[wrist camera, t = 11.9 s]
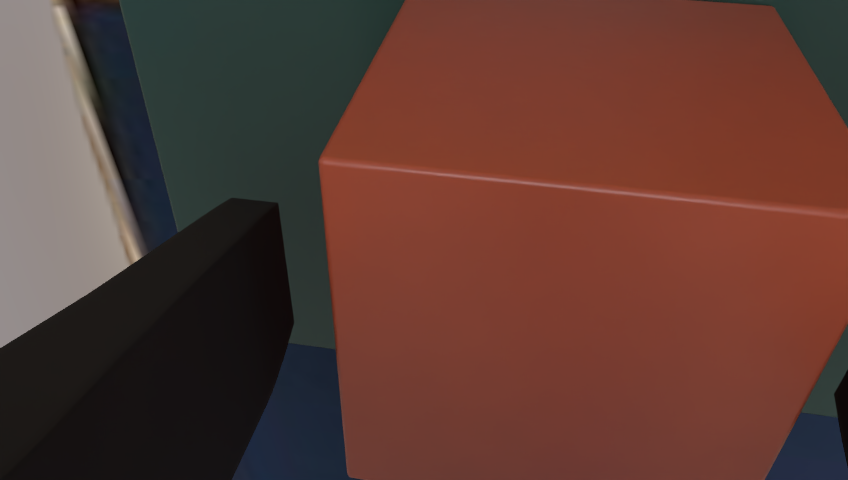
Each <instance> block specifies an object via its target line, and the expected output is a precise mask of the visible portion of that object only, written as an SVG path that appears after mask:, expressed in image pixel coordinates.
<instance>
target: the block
mask: <svg viewBox="0 0 848 480" xmlns="http://www.w3.org/2000/svg"><path fill="white" fill-rule="evenodd" d="M318 164H319V175H320V185H321V196H322V207H323V218H324V228H325V239H326V250H327V261H328V271H329V282H330V293H331V304H332V314H333V325H334V336H335V347H336V357H337V368H338V379H339V389H340V400H341V411H342V422H343V432H344V443H345V454H346V465H347V474H348V476H350V477H351V478H358V479H364V480H765V478H766V476H767V474H768V472H769V470H770V469H771V467H772V465H773V463H774V461H775V459H776V457H777V455H778V454H779V452H780V450H781V448H782V446H783V444H784V442H785V440H786V439H787V437H788V435H789V433H790V431H791V429H792V427H793V426H794V424H795V422H796V420H797V418H798V416H799V414H800V412H801V411H802V409H803V407H804V405H805V403H806V401H807V399H808V397H809V396H810V394H811V392H812V390H813V388H814V386H815V384H816V382H817V381H818V379H819V377H820V375H821V373H822V371H823V369H824V367H825V366H826V364H827V362H828V360H829V358H830V356H831V354H832V352H833V351H834V349H835V347H836V345H837V343H838V341H839V339H840V337H841V336H842V334H843V332H844V330H845V328H846V326H847V324H848V128H847V126H846V124H845V123H844V121H843V119H842V118H841V116H840V114H839V113H838V111H837V109H836V108H835V106H834V105H833V103H832V101H831V100H830V98H829V96H828V95H827V93H826V91H825V90H824V88H823V86H822V85H821V83H820V82H819V80H818V78H817V77H816V75H815V73H814V72H813V70H812V68H811V67H810V65H809V63H808V62H807V60H806V59H805V57H804V55H803V54H802V52H801V50H800V49H799V47H798V45H797V44H796V42H795V40H794V39H793V37H792V36H791V34H790V32H789V31H788V29H787V27H786V26H785V24H784V22H783V21H782V19H781V17H780V16H779V14H778V13H777V11H776V9H775V8H774V7H772V6H766V5H751V4H737V3H722V2H708V1H693V0H405V1H404V3H403V5H402V7H401V9H400V11H399V12H398V14H397V16H396V18H395V20H394V22H393V23H392V25H391V27H390V29H389V31H388V33H387V34H386V36H385V38H384V40H383V42H382V44H381V46H380V47H379V49H378V51H377V53H376V55H375V57H374V58H373V60H372V62H371V64H370V66H369V68H368V69H367V71H366V73H365V75H364V77H363V79H362V80H361V82H360V84H359V86H358V88H357V90H356V92H355V93H354V95H353V97H352V99H351V101H350V103H349V104H348V106H347V108H346V110H345V112H344V114H343V115H342V117H341V119H340V121H339V123H338V125H337V126H336V128H335V130H334V132H333V134H332V136H331V137H330V139H329V141H328V143H327V145H326V147H325V149H324V150H323V152H322V154H321V156H320V158H319V161H318Z"/></svg>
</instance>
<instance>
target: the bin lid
mask: <svg viewBox="0 0 848 480" xmlns="http://www.w3.org/2000/svg"><path fill="white" fill-rule="evenodd" d="M404 1H405V0H119V3H120V7H121V11H122V15H123V19H124V22H125V26H126V30H127V34H128V38H129V42H130V46H131V50H132V54H133V58H134V62H135V66H136V70H137V74H138V77H139V81H140V85H141V89H142V93H143V97H144V101H145V105H146V109H147V113H148V117H149V121H150V125H151V129H152V132H153V136H154V140H155V144H156V148H157V152H158V156H159V160H160V164H161V168H162V172H163V176H164V180H165V184H166V187H167V191H168V195H169V199H170V203H171V207H172V211H173V215H174V219H175V223H176V227H177V231H178V233H179V232H180V231H181V230H183V229H184V228H186V227H187V226H189V225H190V224H192V223H193V222H195V221H196V220H197V219H199V218H200V217H202V216H203V215H205V214H206V213H208V212H209V211H211V210H212V209H214V208H215V207H217V206H219V205H220V204H222V203H223V202H225V201H227V200H228V199H230V198H240V199H249V200H258V201H267V202H276V203H278V205H279V213H280V220H281V227H282V235H283V242H284V249H285V257H286V264H287V271H288V279H289V286H290V293H291V301H292V308H293V316H294V326H293V329H292V332H291V336H290V339H289V342H288V343H293V344H301V345H308V346H316V347H323V348H330V349H336V347H335V336H334V325H333V314H332V304H331V293H330V282H329V271H328V261H327V250H326V239H325V228H324V218H323V207H322V196H321V185H320V175H319V164H318V161H319V158H320V156H321V154H322V152H323V150H324V149H325V147H326V145H327V143H328V141H329V139H330V137H331V136H332V134H333V132H334V130H335V128H336V126H337V125H338V123H339V121H340V119H341V117H342V115H343V114H344V112H345V110H346V108H347V106H348V104H349V103H350V101H351V99H352V97H353V95H354V93H355V92H356V90H357V88H358V86H359V84H360V82H361V80H362V79H363V77H364V75H365V73H366V71H367V69H368V68H369V66H370V64H371V62H372V60H373V58H374V57H375V55H376V53H377V51H378V49H379V47H380V46H381V44H382V42H383V40H384V38H385V36H386V34H387V33H388V31H389V29H390V27H391V25H392V23H393V22H394V20H395V18H396V16H397V14H398V12H399V11H400V9H401V7H402V5H403V3H404ZM693 1H708V2H722V3H737V4H751V5H766V6H772V7H774V8H775V9H776V11H777V13H778V14H779V16H780V17H781V19H782V21H783V22H784V24H785V26H786V27H787V29H788V31H789V32H790V34H791V36H792V37H793V39H794V40H795V42H796V44H797V45H798V47H799V49H800V50H801V52H802V54H803V55H804V57H805V59H806V60H807V62H808V63H809V65H810V67H811V68H812V70H813V72H814V73H815V75H816V77H817V78H818V80H819V82H820V83H821V85H822V86H823V88H824V90H825V91H826V93H827V95H828V96H829V98H830V100H831V101H832V103H833V105H834V106H835V108H836V109H837V111H838V113H839V114H840V116H841V118H842V119H843V121H844V123H845V124H846V126H847V128H848V0H693ZM847 370H848V324H847V326H846V328H845V330H844V332H843V334H842V336H841V337H840V339H839V341H838V343H837V345H836V347H835V349H834V351H833V352H832V354H831V356H830V358H829V360H828V362H827V364H826V366H825V367H824V369H823V371H822V373H821V375H820V377H819V379H818V381H817V382H816V384H815V386H814V388H813V390H812V392H811V394H810V396H809V397H808V399H807V401H806V403H805V405H804V407H803V409H802V411H801V413H808V414H816V415H823V416H831V417H838V415H837V409H836V403H835V398H834V393H835V391H836V389H837V388H838V386H839V384H840V382H841V380H842V379H843V377H844V375H845V373H846V371H847Z"/></svg>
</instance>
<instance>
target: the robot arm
mask: <svg viewBox="0 0 848 480" xmlns="http://www.w3.org/2000/svg"><path fill="white" fill-rule="evenodd" d="M293 326H294V316H293V308H292V301H291V293H290V286H289V279H288V271H287V264H286V257H285V249H284V242H283V235H282V227H281V220H280V213H279V205H278V203H276V202H267V201H258V200H249V199H240V198H230V199H228V200H227V201H225V202H223V203H222V204H220V205H219V206H217V207H215V208H214V209H212V210H211V211H209V212H208V213H206V214H205V215H203V216H202V217H200V218H199V219H197V220H196V221H195V222H193V223H192V224H190V225H189V226H187V227H186V228H184V229H183V230H181V231H180V232H179V233H177V234H176V235H174V236H173V237H171V238H170V239H168V240H167V241H166V242H164V243H163V244H161V245H160V246H158V247H157V248H155V249H154V250H153V251H151V252H150V253H148V254H147V255H145V256H144V257H142V258H141V259H139V260H138V261H136V262H135V263H133V264H132V265H130V266H129V267H127V268H126V269H125V270H123V271H122V272H120V273H119V274H117V275H116V276H114V277H113V278H111V279H110V280H108V281H107V282H105V283H104V284H102V285H101V286H99V287H98V288H97V289H95V290H93V291H92V292H90V293H89V294H87V295H86V296H84V297H82V298H81V299H79V300H78V301H76V302H74V303H73V304H71V305H70V306H68V307H66V308H65V309H63V310H62V311H60V312H58V313H57V314H55V315H53V316H52V317H50V318H49V319H47V320H45V321H44V322H42V323H40V324H39V325H37V326H36V327H34V328H32V329H31V330H29V331H27V332H26V333H24V334H23V335H21V336H20V337H18V338H16V339H15V340H13V341H11V342H10V343H8V344H7V345H5V346H3V347H2V348H0V480H232V478H233V475H234V473H235V471H236V469H237V467H238V465H239V463H240V461H241V459H242V456H243V454H244V452H245V450H246V448H247V446H248V444H249V442H250V439H251V437H252V435H253V433H254V431H255V429H256V427H257V424H258V422H259V420H260V418H261V416H262V414H263V411H264V409H265V407H266V405H267V403H268V400H269V398H270V396H271V394H272V391H273V388H274V385H275V383H276V380H277V377H278V374H279V371H280V368H281V365H282V362H283V358H284V355H285V352H286V349H287V345H288V342H289V339H290V336H291V332H292V329H293ZM834 398H835V403H836V409H837V415H838V420H839V426H840V432H841V438H842V442H843V447H844V452H845V456H846V461H847V466H848V370H847V371H846V373H845V375H844V377H843V379H842V380H841V382H840V384H839V386H838V388H837V389H836V391H835V393H834Z"/></svg>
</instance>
